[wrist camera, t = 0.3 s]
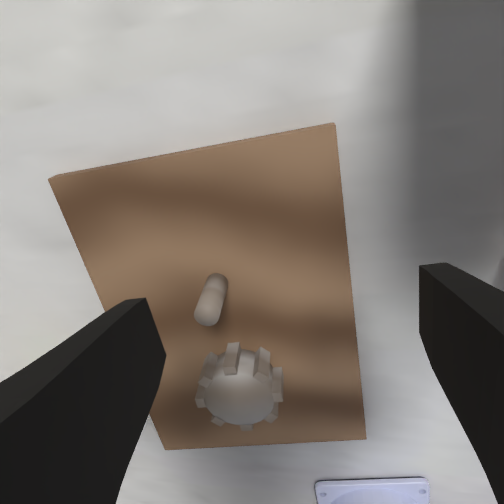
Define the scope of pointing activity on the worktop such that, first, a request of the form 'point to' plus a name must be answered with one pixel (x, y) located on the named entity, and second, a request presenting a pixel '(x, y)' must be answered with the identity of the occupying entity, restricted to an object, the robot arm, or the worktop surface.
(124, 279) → the carrier plate
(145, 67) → the worktop surface
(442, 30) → the worktop surface
